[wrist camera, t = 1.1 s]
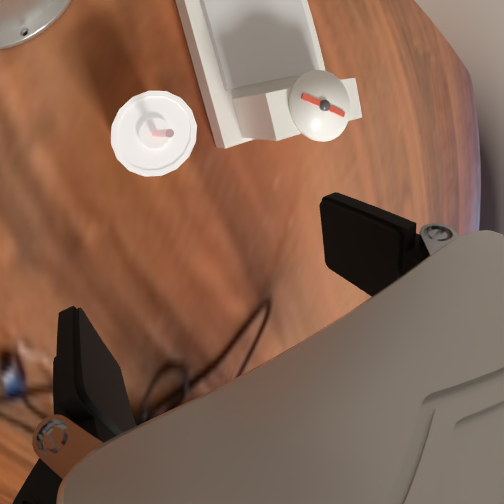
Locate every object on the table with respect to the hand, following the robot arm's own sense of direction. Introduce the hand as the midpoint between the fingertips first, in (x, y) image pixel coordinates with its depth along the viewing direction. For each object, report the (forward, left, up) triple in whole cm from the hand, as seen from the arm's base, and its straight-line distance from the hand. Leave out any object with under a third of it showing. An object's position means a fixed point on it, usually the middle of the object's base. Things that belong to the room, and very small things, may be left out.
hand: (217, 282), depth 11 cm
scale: (-9, +16, -22) cm, 28 cm away
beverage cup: (-5, +2, -22) cm, 23 cm away
